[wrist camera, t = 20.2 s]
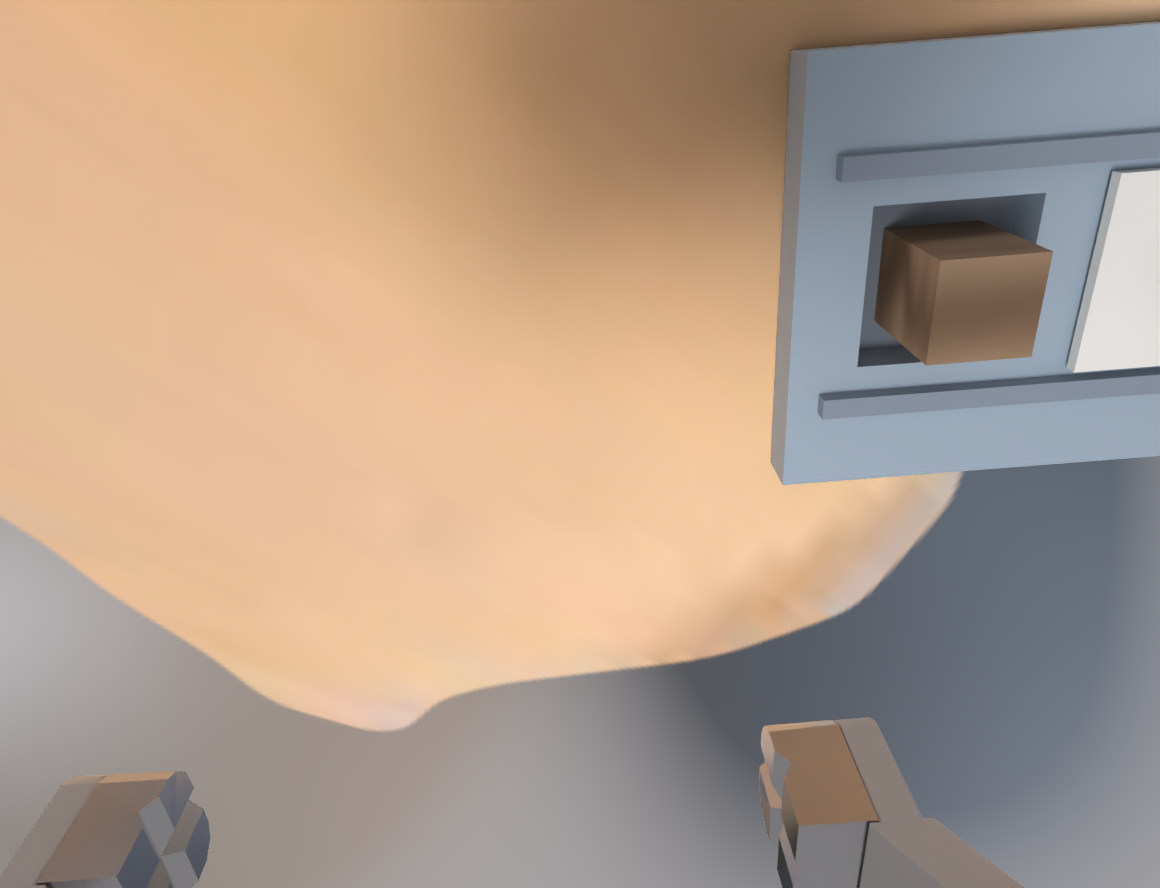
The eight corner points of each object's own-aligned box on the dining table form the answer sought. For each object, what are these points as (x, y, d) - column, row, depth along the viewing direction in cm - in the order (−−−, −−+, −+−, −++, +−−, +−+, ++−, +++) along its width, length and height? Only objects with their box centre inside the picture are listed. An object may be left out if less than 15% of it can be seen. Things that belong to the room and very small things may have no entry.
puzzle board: (790, 50, 33) (813, 51, 30) (1308, 9, 33) (1381, 6, 30) (770, 461, 42) (787, 493, 40) (1175, 430, 42) (1221, 459, 39)
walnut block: (883, 228, 36) (940, 260, 31) (980, 220, 36) (1053, 251, 31) (874, 320, 39) (925, 365, 33) (964, 312, 39) (1031, 357, 33)
